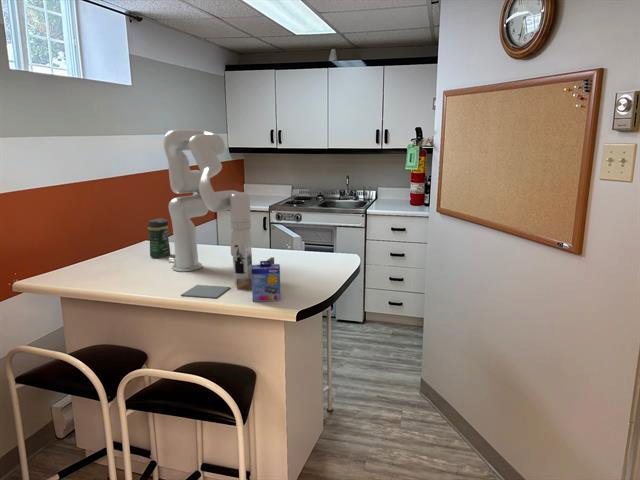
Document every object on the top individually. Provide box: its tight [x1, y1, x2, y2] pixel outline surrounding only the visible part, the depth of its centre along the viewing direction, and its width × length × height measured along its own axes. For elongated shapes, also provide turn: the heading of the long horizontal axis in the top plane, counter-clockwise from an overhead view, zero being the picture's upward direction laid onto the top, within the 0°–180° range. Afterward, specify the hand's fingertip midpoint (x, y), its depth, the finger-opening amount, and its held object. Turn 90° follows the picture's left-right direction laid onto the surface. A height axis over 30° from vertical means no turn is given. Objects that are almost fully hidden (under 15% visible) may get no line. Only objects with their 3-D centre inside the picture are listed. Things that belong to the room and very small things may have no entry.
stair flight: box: [236, 256, 275, 291], centre depth 180 cm, size 11×11×10 cm
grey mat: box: [180, 284, 231, 300], centre depth 175 cm, size 14×12×1 cm
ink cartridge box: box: [251, 260, 282, 303], centre depth 164 cm, size 10×6×14 cm, turn 95°
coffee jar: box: [147, 217, 171, 259], centre depth 228 cm, size 10×8×19 cm
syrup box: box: [232, 245, 253, 286], centre depth 181 cm, size 6×6×14 cm
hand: (243, 270), depth 182 cm, fingers closed on syrup box, 5 cm apart
